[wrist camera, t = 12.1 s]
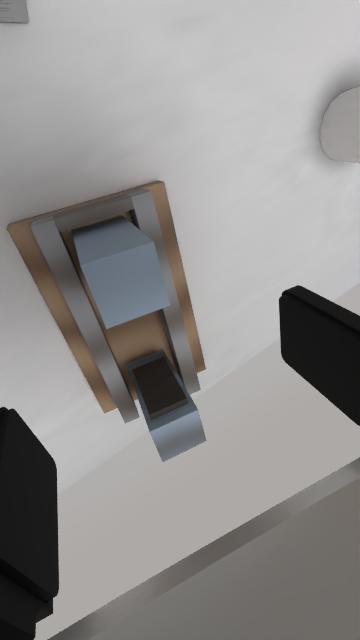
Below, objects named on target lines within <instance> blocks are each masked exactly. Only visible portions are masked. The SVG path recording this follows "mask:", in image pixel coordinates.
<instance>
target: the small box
mask: <svg viewBox="0 0 360 640" xmlns="http://www.w3.org/2000/svg"><path fill="white" fill-rule="evenodd" d="M0 22H23V23H27V22H29V18H28V11H27V5H26V0H0Z"/></svg>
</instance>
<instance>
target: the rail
mask: <svg viewBox="0 0 360 640" xmlns="http://www.w3.org/2000/svg"><path fill="white" fill-rule="evenodd" d="M121 215H122V216H123V217H125V218H126V219H127V220H128V221H129V222H131V223H132V224H133V225H134V226H136V227H137V228H138V229H139V230H140V231H142V232H143V233H144V234H145V235H146V236H148V237H149V238H150V239H151V240H152V241H154V244H155V248H156V252H157V256H158V260H159V264H160V267H161V271H162V275H163V279H164V283H165V287H166V291H167V294H168V298H169V302H170V306H167V307H164V308H162V309H160V310H158V311H155V312H152V313H150V314H147V315H144V316H142V317H139V318H136V319H134V320H131V321H128V322H126V323H123V324H120V325H118V326H115V327H111V328H108V329H106V326H105V324H104V322H103V319H102V317H101V314H100V312H99V310H98V307H97V305H96V302H95V300H94V298H93V295H92V293H91V290H90V288H89V285H88V283H87V281H86V278H85V276H84V273H83V271H82V269H81V266H80V263H79V259H78V255H77V251H76V247H75V243H74V239H73V235H72V231H71V230H74V229H77V228H81V227H84V226H87V225H91V224H94V223H98V222H101V221H104V220H108V219H111V218H114V217H118V216H121ZM7 230H8V231H9V233H10V235H11V237H12V239H13V241H14V243H15V245H16V247H17V248H18V250H19V252H20V254H21V256H22V258H23V260H24V262H25V264H26V266H27V267H28V269H29V271H30V273H31V275H32V277H33V279H34V281H35V283H36V284H37V286H38V288H39V290H40V292H41V294H42V296H43V298H44V300H45V301H46V303H47V305H48V307H49V309H50V311H51V313H52V315H53V317H54V319H55V320H56V322H57V324H58V326H59V328H60V330H61V332H62V334H63V336H64V337H65V339H66V341H67V343H68V345H69V347H70V349H71V351H72V353H73V355H74V356H75V358H76V360H77V362H78V364H79V366H80V368H81V370H82V372H83V373H84V375H85V377H86V379H87V381H88V383H89V385H90V387H91V389H92V390H93V392H94V394H95V396H96V398H97V400H98V402H99V404H100V406H101V408H102V409H103V411H104V413H106V412H109V411H111V410H113V409H116V408H118V409H119V411H120V413H121V415H122V418H123V420H124V422H125V423H127V422H129V421H132V420H134V419H136V418H138V417H139V414H138V411H137V408H136V405H135V402H134V400H136V399H138V400H139V403H140V405H141V408H142V411H143V414H144V417H145V420H146V422H147V425H148V428H149V431H150V433H151V436H152V438H153V441H154V443H155V445H156V448H157V450H158V452H159V455H160V457H161V459H162V461H163V462H164V461H166V460H168V459H170V458H172V457H174V456H176V455H178V454H180V453H183V452H185V451H187V450H189V449H191V448H193V447H195V446H197V445H199V444H201V443H203V442H205V441H206V438H205V434H204V430H203V426H202V423H201V419H200V415H199V412H198V409H197V407H196V405H195V404H194V402H193V400H192V398H191V397H190V394H192V393H194V392H196V391H198V390H201V389H200V385H199V381H198V377H197V373H198V372H200V371H203V370H205V369H206V367H205V363H204V359H203V354H202V350H201V345H200V341H199V336H198V332H197V327H196V323H195V318H194V314H193V309H192V305H191V300H190V296H189V291H188V287H187V282H186V278H185V273H184V269H183V264H182V260H181V256H180V251H179V247H178V242H177V238H176V233H175V229H174V224H173V220H172V215H171V211H170V206H169V202H168V197H167V193H166V188H165V184H164V182H162V181H156V182H152V183H149V184H146V185H142V186H139V187H135V188H132V189H128V190H125V191H121V192H118V193H114V194H111V195H108V196H104V197H101V198H97V199H94V200H90V201H87V202H83V203H80V204H77V205H73V206H70V207H66V208H63V209H59V210H56V211H52V212H49V213H45V214H42V215H39V216H35V217H32V218H28V219H25V220H21V221H18V222H14V223H11V224H9V225H8V227H7Z"/></svg>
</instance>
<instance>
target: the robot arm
mask: <svg viewBox="0 0 360 640" xmlns="http://www.w3.org/2000/svg"><path fill="white" fill-rule="evenodd" d="M279 312H280V337H281V354H282V358H283V360H284V361H285V362H286V363H287V364H288V365H289V366H290V367H292V368H293V369H294V370H295V371H296V372H297V373H298V374H300V375H301V376H302V377H303V378H304V379H305V380H306V381H308V382H309V383H310V384H311V385H312V386H313V387H315V388H316V389H317V390H318V391H319V392H320V393H321V394H322V395H324V396H325V397H326V398H327V399H328V400H329V401H331V402H332V403H333V404H334V405H335V406H336V407H337V408H339V409H340V410H341V411H342V412H343V413H344V414H345V415H347V416H348V417H349V418H350V419H351V420H352V421H354V422H355V423H356V424H357V425H359V426H360V316H359V315H357V314H355V313H353V312H351V311H349V310H347V309H345V308H343V307H341V306H339V305H337V304H335V303H333V302H331V301H329V300H327V299H326V298H324V297H322V296H320V295H318V294H316V293H314V292H312V291H310V290H308V289H306V288H304V287H302V286H295V287H293V288H290V289H288V290H285V291H284V292H283V293H282V296H281V297H280V298H279ZM57 515H58V514H57V468H56V464H55V461H54V459H53V458H52V457H51V455H50V454H49V453H48V451H47V450H46V449H45V448H44V446H43V445H42V444H41V442H40V441H39V440H38V439H37V437H36V436H35V435H34V434H33V432H32V431H31V430H30V428H29V427H28V426H27V425H26V423H25V422H24V421H23V419H22V418H21V417H20V416H19V414H18V413H17V412H16V411H15V410H14V409H9V410H8V409H7V408H5V407H1V408H0V640H34V638H35V629H36V623H37V622H38V621H40V620H42V619H44V618H46V617H47V616H49V615H51V614H53V597H55V596H57V594H58V590H59V569H58V568H59V567H58V516H57ZM48 640H360V458H358V459H356V460H354V461H353V462H351V463H349V464H347V465H346V466H344V467H342V468H340V469H339V470H337V471H335V472H333V473H332V474H330V475H328V476H326V477H324V478H323V479H321V480H319V481H317V482H316V483H314V484H312V485H310V486H309V487H307V488H305V489H304V490H302V491H300V492H298V493H297V494H295V495H293V496H291V497H290V498H288V499H286V500H284V501H283V502H281V503H279V504H277V505H276V506H274V507H272V508H270V509H269V510H267V511H265V512H264V513H262V514H260V515H259V516H257V517H255V518H253V519H252V520H250V521H248V522H246V523H244V524H243V525H241V526H240V527H238V528H236V529H234V530H232V531H231V532H229V533H227V534H225V535H224V536H222V537H220V538H219V539H217V540H215V541H214V542H212V543H210V544H208V545H206V546H205V547H203V548H201V549H200V550H198V551H196V552H194V553H193V554H191V555H189V556H188V557H186V558H184V559H182V560H181V561H179V562H177V563H176V564H174V565H172V566H170V567H169V568H167V569H165V570H164V571H162V572H160V573H158V574H157V575H155V576H153V577H152V578H150V579H148V580H147V581H145V582H143V583H141V584H140V585H138V586H136V587H134V588H133V589H131V590H129V591H128V592H126V593H124V594H122V595H121V596H119V597H117V598H116V599H114V600H112V601H111V602H109V603H107V604H106V605H104V606H102V607H101V608H99V609H97V610H96V611H94V612H93V613H91V614H89V615H88V616H86V617H84V618H83V619H81V620H79V621H78V622H76V623H74V624H73V625H71V626H69V627H68V628H66V629H64V630H63V631H61V632H59V633H58V634H56V635H55V636H53V637H51V638H50V639H48Z"/></svg>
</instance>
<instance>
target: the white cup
mask: <svg viewBox="0 0 360 640" xmlns="http://www.w3.org/2000/svg"><path fill="white" fill-rule="evenodd" d="M320 143H321V146H322V149H323V151H324V153H325V154H326V155H327V156H328V157H329V158H330V159H333V160H339V161H347V162H354V163H360V86H359V87H356V88H353V89H350V90H348V91H345V92H342V93H340V94H339V95H338V96H337V97H336V98H335V99H334V100H333V101H332V102H331V103H330V105H329V107H328V108H327V110H326V112H325V114H324V117H323V120H322V124H321V128H320Z"/></svg>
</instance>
